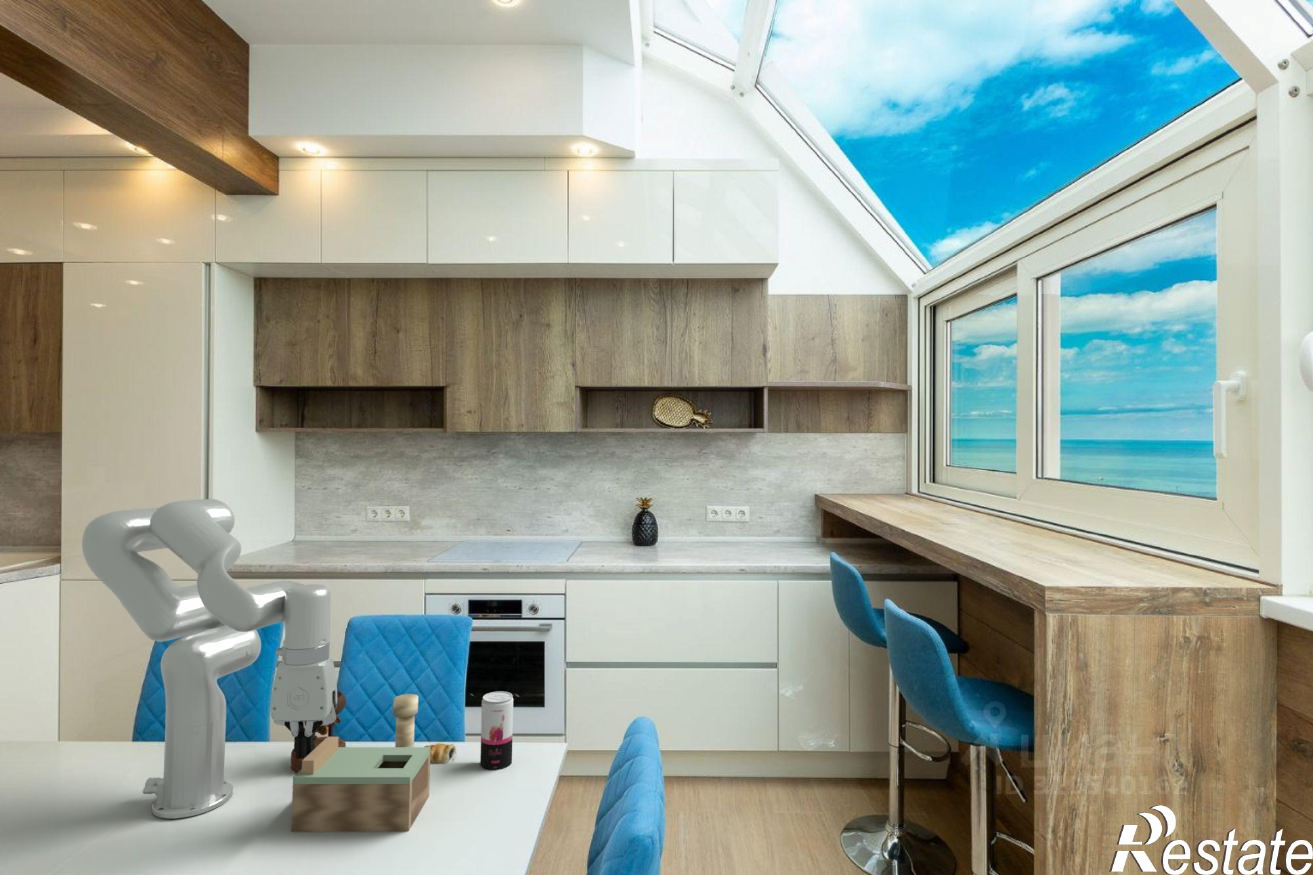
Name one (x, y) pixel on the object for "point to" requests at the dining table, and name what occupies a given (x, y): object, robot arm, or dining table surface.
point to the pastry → (442, 753)
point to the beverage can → (496, 730)
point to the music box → (322, 733)
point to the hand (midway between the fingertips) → (304, 755)
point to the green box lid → (359, 764)
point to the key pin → (405, 719)
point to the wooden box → (360, 804)
